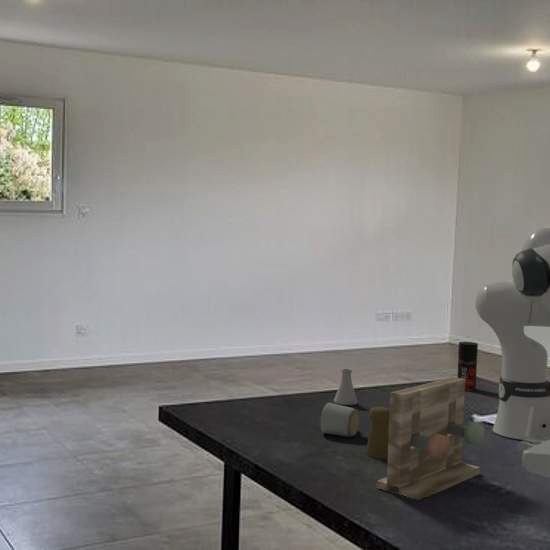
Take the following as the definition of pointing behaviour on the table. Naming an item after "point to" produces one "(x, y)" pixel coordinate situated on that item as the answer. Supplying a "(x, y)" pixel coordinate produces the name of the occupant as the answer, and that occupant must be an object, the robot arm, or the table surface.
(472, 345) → the deodorant
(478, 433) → the button sage
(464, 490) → the table surface
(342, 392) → the flask
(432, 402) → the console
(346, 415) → the ceramic mug
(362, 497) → the table surface
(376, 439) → the cork
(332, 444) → the table surface
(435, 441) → the button terracotta
